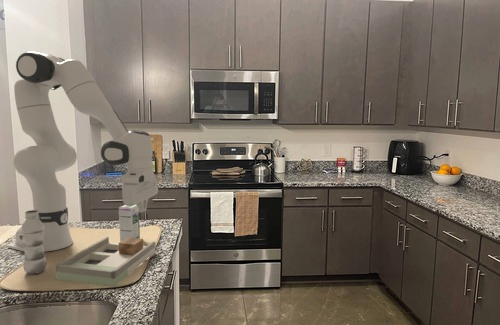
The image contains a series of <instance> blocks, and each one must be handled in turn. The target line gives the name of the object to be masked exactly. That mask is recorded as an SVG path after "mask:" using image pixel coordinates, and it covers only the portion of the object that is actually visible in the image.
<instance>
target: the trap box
mask: <svg viewBox="0 0 500 325" xmlns="http://www.w3.org/2000/svg"><path fill="white" fill-rule="evenodd" d="M109 240H110V239H109V236H106V237H104V238H101V239H100V240H99V241H96V242H95V243H92V244H91V245H89V246H88V247H86V248H84V249H82V250H80V251H79V252H76V253H75V254H74V255H71V256H69V257H68V258H66V259H65V260H64V259H63V261H61V262H59V263H57V264H56V265H54V266H55V279H56V280H59V281H65V282H74V283H84V284H91V285H100V286H107V287H116V286H117V285H119V284H120V283H121V282H122V281H124V279H126V278H127V277H128V276H130V275H131V274H132V273H133V272H134V271H136V270H137V269H138V268H139V267H140V266H139V265H140V264H141V263H143V262H144V261H145V260H146V259H147V258H148V257H150V256H151V257H150V258H152V257H153V256H155V254H156V241H153V240H152V241H150V243H148V244H147V245H143V249H142V250H140V251H139V252H138V253H136V254H135V255H123V254H119V243H120V242H111V241H109ZM145 262H146V261H145ZM145 262H144V263H145ZM144 263H143V264H144ZM138 266H139V267H138ZM137 267H138V268H137ZM136 268H137V269H136ZM135 269H136V270H135ZM132 271H133V272H132ZM131 272H132V273H131ZM130 273H131V274H130Z"/></svg>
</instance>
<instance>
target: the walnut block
mask: <svg viewBox="0 0 500 325" xmlns="http://www.w3.org/2000/svg"><path fill="white" fill-rule="evenodd" d="M118 243H119V254H123V255H135V254H136V253H138V252H139V251H140V250H142V249H143V246H144V239H143V238H141V237H140V238H129V237H128V238H126V239H124V240H123V241H121V242H118Z"/></svg>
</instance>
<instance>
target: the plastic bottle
mask: <svg viewBox="0 0 500 325" xmlns="http://www.w3.org/2000/svg"><path fill="white" fill-rule="evenodd" d="M24 214H25V215H24V218H25V221H24V222H23V224H22V225H21V226H20V227H21V232H22V236H23V241H24V248H25V251H24V260H23V269H24V272H25V273H27V274H30V275H32V274H35V275H36V274H39V273H42V272H44V271H45V270H46V268H47V266H48V264H47V258H46V255H45V252H44V247H43V236H44V225H43V223H42V222H41V221H40V220H39V219H38V217H39V215H38V211H37V210H34V209H33V210H32V209H31V210H27V211H25V212H24Z"/></svg>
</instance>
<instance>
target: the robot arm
mask: <svg viewBox="0 0 500 325" xmlns="http://www.w3.org/2000/svg"><path fill="white" fill-rule="evenodd" d="M15 68H16V72H17V74H18V75H19V77H20V79H18V80H17V81H15V83H14V91H13V92H14V100H15V106H16V109H17V115H18V118H19V122H20V127H21V129H22V131H23V132H24V133H25V134H26V135H28V136H29V137H30V138H31V139H32V140H33V141H34V143H35V144H36V145H29V146H27V147H25V148H23V149H20V150H18V151H17V152H16V153H15V155H14V157H13V166H14V168H15V170H16V171H17V173H18V174H20V175H21V176H23V177H24V178H25V180H26V181H27V182H28V184H29V188H30V190H31V195H32V204H33V205H32V206H33V207H32V208H33V210H37V211H38V215H39V217H38V219H39V220H40V221H41V222H42V223H43V225H44V236H43V247H44V253H45V252H52V251H58V250H62V249H64V248H68V247H70V246H71V245H72V244H73V243H74V240H73V238H72V236H71V231H70V227H69V223H68V222H69V221H68V220H69V209H68V207H67V195H66V192H67V191H66V188H65V186H64V185H63V184H60V182H59V181H58V178H57V176H56V173H58V172H62V171H66V170H68V169H69V168H71V167H72V166H73V165H75V164H76V162H77V160H78V159H77V158H78V156H77V152H76V149H75V148H74V147H73V146H71V144H69V143H68V142H67V141H66V140H65V138H64V137H63V136H62V134H61V132H60V130H59V128H58V125H57V123H56V119H55V116H54V111H53V108H52V104H51V101H50V97H49V92H50V90H53V91H55V90H58V89H59V88H60V87H61V88H62V89H63V91H64V93H65V94H66V96H67V98H68V100H69V101H70V103H71V104H72V106H73V107H74V108H75V110H76V111H78V112H80V113H81V114H84V115H87V116H89V117H91V118H94V119H96V120H98V121H99V122H100V123H101V124H102V125H103V126H104V128H106V130H107V132H108V133H109V135H110V136H111V138H112V139H110V140H108V141H105V142H104V143H103V144H102V146H101V147H100V148H101V149H100V157H101V160H102V161H103V163H105V164H106V165H108V166H112V167H119V166H123V165H127V171H126V173H125V174H123V175H122V177H121V178H120V182H121V184H122V186H121V188H122V189H121V193H122V195H121V196H122V202H123V204H124V205H129V206H133V205H135V204H137V207H138V211H139V214H140V213H144V212H147V210H148V209H147V208H148V203H149V199H150V198H152V197H154V196H156V195H158V193H159V185H158V179H157V176H156V174H155V173H154V164H153V154H154V153H153V142H152V138H151V135H150V134H149V133H148V132H147V131H143V130H138V129H137V130H135V129H131V130H128V129H127V128H126V126H125V124H124V123H123V121H122V120H121V118H120V117H119V114H117V112H116V111H115V109H114V107H112V106H111V104H110V103H109V101H108V100H107V99H106V97H105V95H104V94H103V92H102V91H101V88H100V87H99V85H98V84H97V82H96V80H95V78H94V77H93V75H92V74H91V72H90V71H89V69H88V68H87V67H86V66H85V64H83V62H82V61H80V60H78V59H67V60H65V59H63V58H62V57H58V56H55V55H54V54H53V55H52V54H49V53H40V52H37V51H25V52H24V53H21V54H20V55H19V56H18V57H17V59H16V61H15ZM21 227H22V226H20V227H19V228H18V229H17V230H16V232H15V240H13V241H12V242H10V243H9V244H8V247H7V248H9V249H13V250H17V251H21V252H25V248H24V241H23V236H22V232H21Z"/></svg>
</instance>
